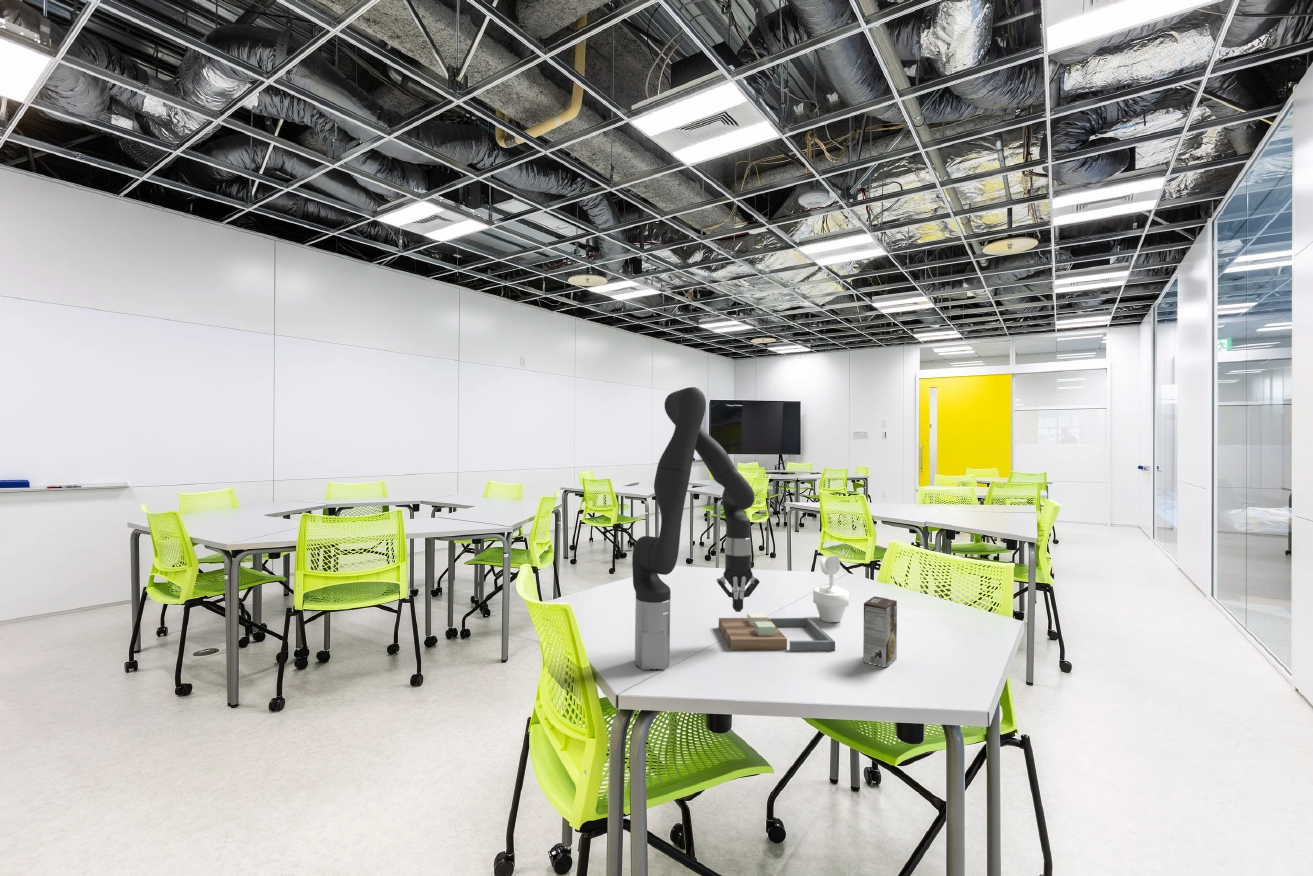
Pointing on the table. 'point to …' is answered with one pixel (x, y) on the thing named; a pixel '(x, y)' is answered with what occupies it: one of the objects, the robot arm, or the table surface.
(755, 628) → the tile sage
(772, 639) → the board
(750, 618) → the tile cream
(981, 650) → the table surface
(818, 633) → the tray
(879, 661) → the coffee box
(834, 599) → the potted plant
